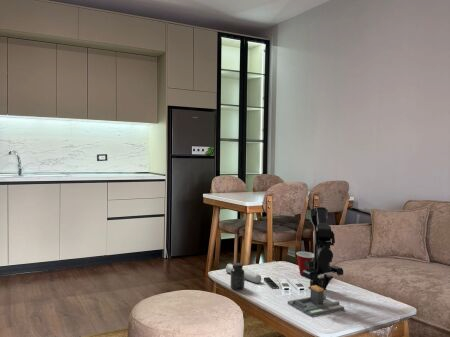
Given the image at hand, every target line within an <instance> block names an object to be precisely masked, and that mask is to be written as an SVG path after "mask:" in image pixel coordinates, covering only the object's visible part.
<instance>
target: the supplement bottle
mask: <svg viewBox="0 0 450 337" xmlns="http://www.w3.org/2000/svg"><path fill="white" fill-rule="evenodd" d="M232 265H233V269H232V270H231V273H230V289H231V290H233V291H242V290H244V289H245V279H244V270H243V269H244V268H243V264H242V262H235V263H234V262H233V264H232ZM242 268H243V269H242Z"/></svg>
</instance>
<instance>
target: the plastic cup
mask: <svg viewBox="0 0 450 337" xmlns="http://www.w3.org/2000/svg"><path fill="white" fill-rule="evenodd" d="M295 254H296V256H297V263H298V264H297V265H298V271H299V275H300V276H302V272H303V271H304V270H308V267H305V260H310V261H312V259H313V258H314V252H313V253H312V252H309V251H296V253H295ZM302 277H303V276H302Z"/></svg>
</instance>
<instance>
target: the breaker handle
mask: <svg viewBox="0 0 450 337" xmlns="http://www.w3.org/2000/svg"><path fill="white" fill-rule="evenodd" d="M324 292H325V291H324V288H321V287H319V286H317V285H314V286H311V289H310V295H309V297H310V302H312V303H314V304H316V305H319V304H323V295H325V294H324Z"/></svg>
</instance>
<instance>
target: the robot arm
mask: <svg viewBox="0 0 450 337" xmlns="http://www.w3.org/2000/svg"><path fill="white" fill-rule="evenodd" d="M309 218H310V221H311V224H312V225H313V246H314V247H313V254H314V258H313V259H312V261H310V260H305V267H308V270H304V271H303V272H302V277H303V278H305V279H307V280H309V287H308V289H309V290H311V286H314V285H317V286H319V287H321V288H324V292H326V291H327V290H328V289H327V287H328V285H329V284H330V283H331V281H332V279H334V276H333V275H332V274H335V273H336V275H337V276H343V275H344V269H343V267H340V266H337V265H331V263H332V262H333V259H334V253H333V251H332V249H331V246H335V243H336V238H335V233H334V230H332V226H331V225H329V224H328V220H327V219H328V218H329V210H328V209H327V208H326V207H324V206H316V207H314V208H311V209H310V210H309Z"/></svg>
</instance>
